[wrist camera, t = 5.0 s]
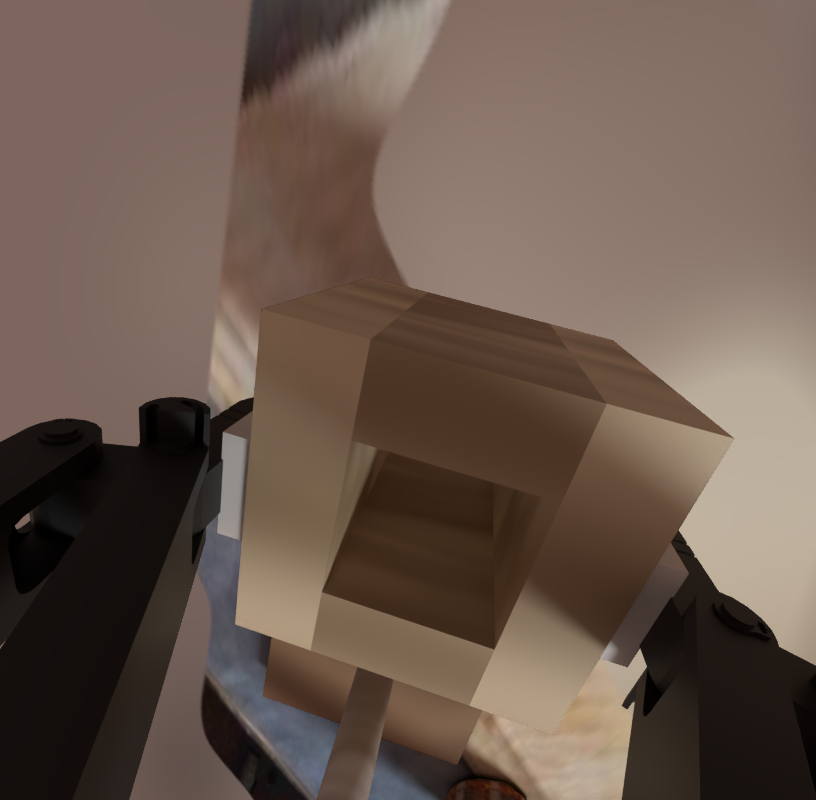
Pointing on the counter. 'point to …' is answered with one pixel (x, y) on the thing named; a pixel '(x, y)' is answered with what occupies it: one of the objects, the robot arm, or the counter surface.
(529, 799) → the counter surface
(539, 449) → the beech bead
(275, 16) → the counter surface
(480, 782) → the sauce bottle
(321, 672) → the rod stand
